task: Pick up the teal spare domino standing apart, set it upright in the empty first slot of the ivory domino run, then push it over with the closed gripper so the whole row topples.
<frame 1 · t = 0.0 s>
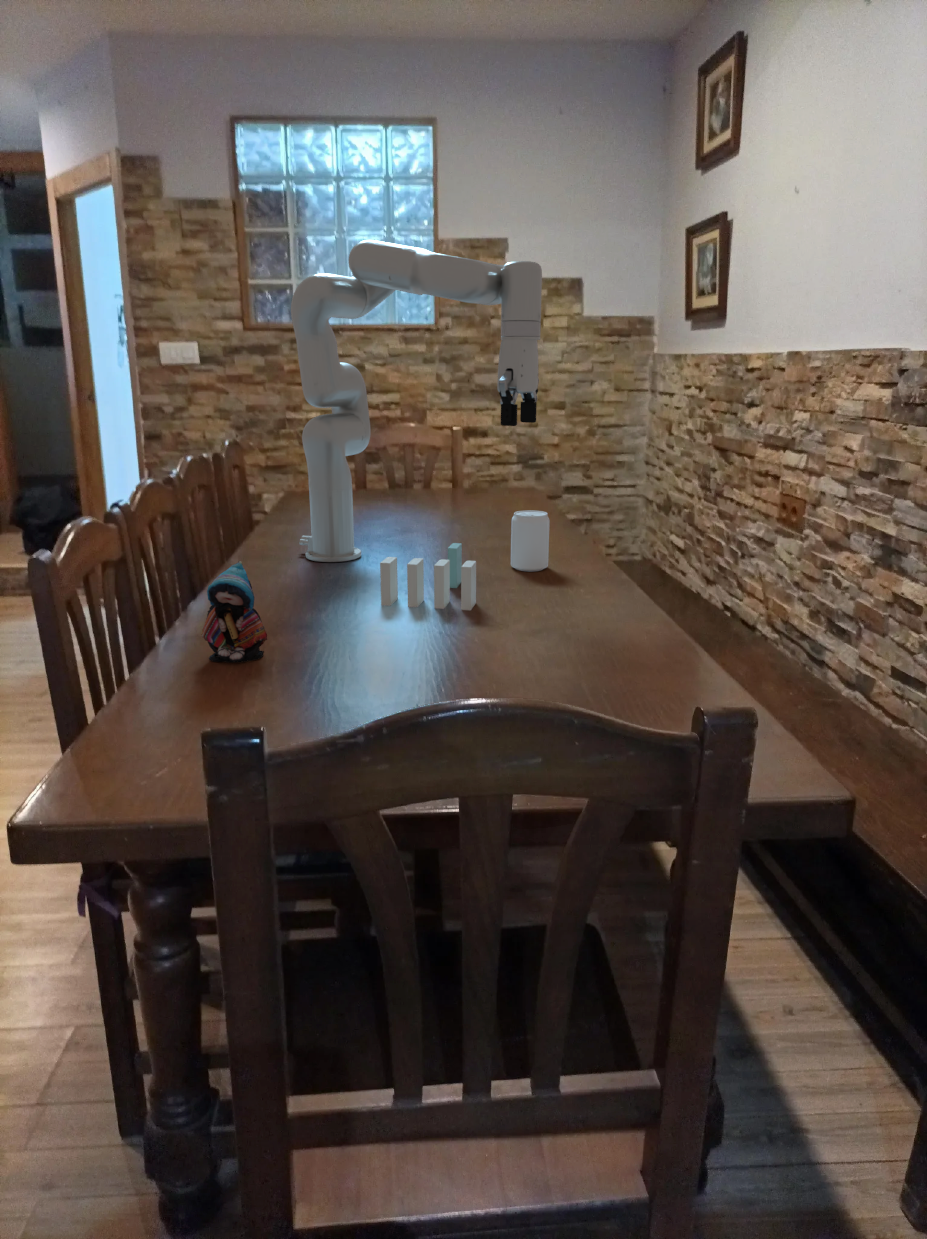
hand: (518, 423, 169), 31 cm above the table, fingers open, 9 cm apart
domino 5: (468, 606, 158), on the table
domino 4: (442, 604, 159), on the table
figurine: (236, 661, 130), on the table
beverage can: (529, 569, 187), on the table
domino 2: (389, 601, 161), on the table
spare domino: (454, 584, 173), on the table
domino 3: (415, 603, 160), on the table
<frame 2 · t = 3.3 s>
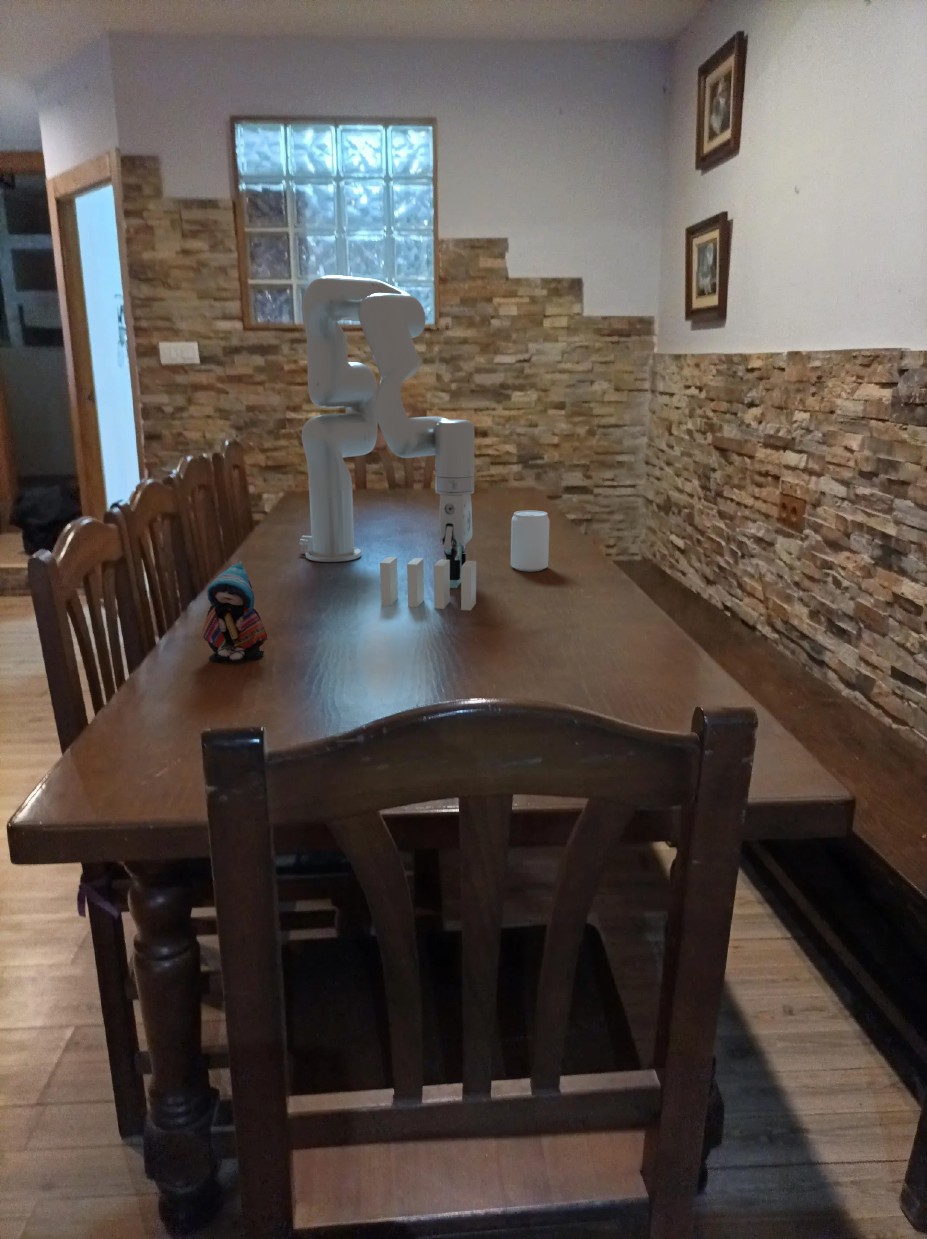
hand: (454, 575, 173), 2 cm above the table, fingers closed on spare domino, 4 cm apart
spare domino: (454, 584, 173), on the table, touching gripper
everything else where it was.
when the fingers open (3 cm above the table, at t = 8.4 s): spare domino stays where it is, on the table.
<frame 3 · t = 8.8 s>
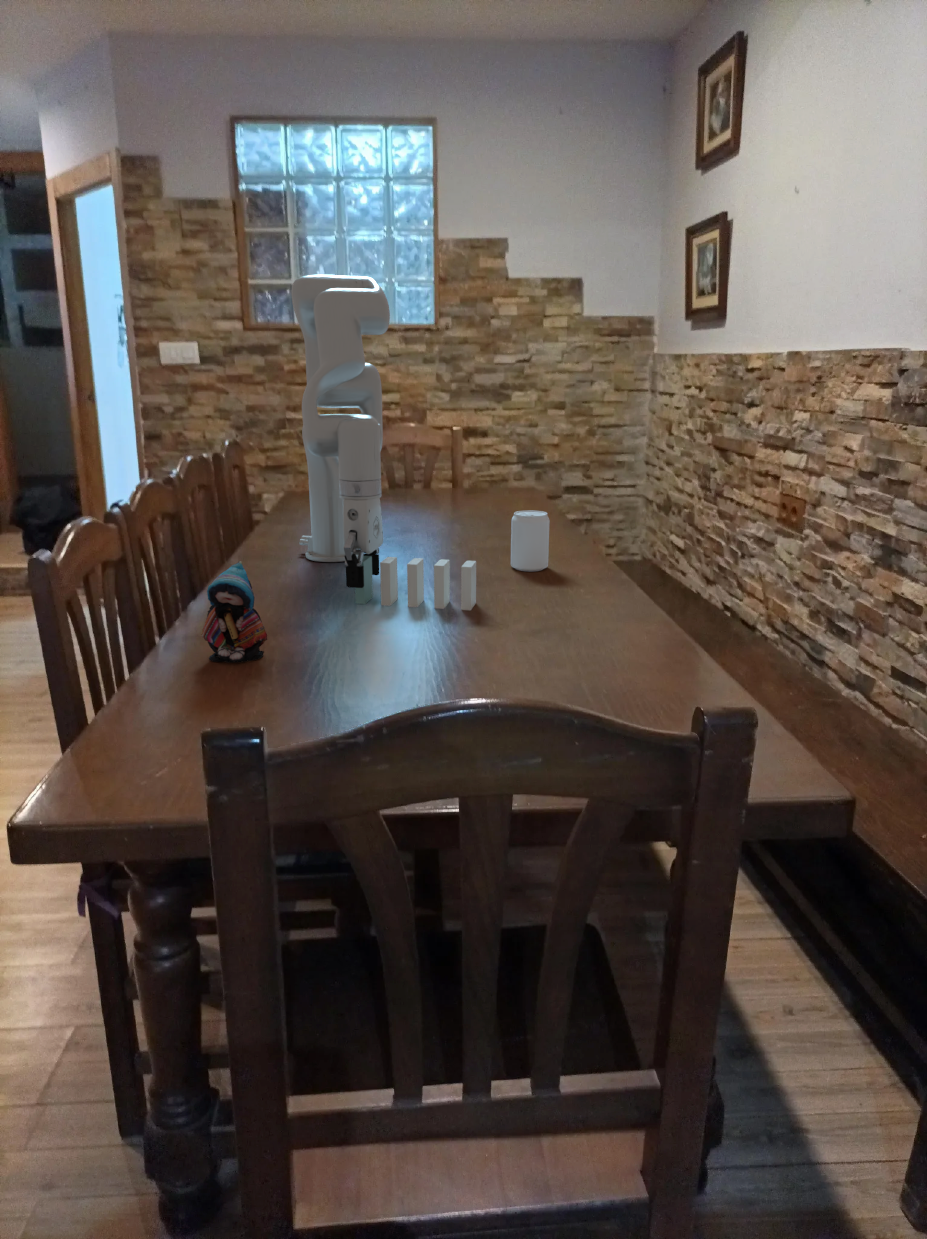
hand: (363, 580, 161), 4 cm above the table, fingers open, 9 cm apart
spare domino: (364, 600, 162), on the table
everything else where it was.
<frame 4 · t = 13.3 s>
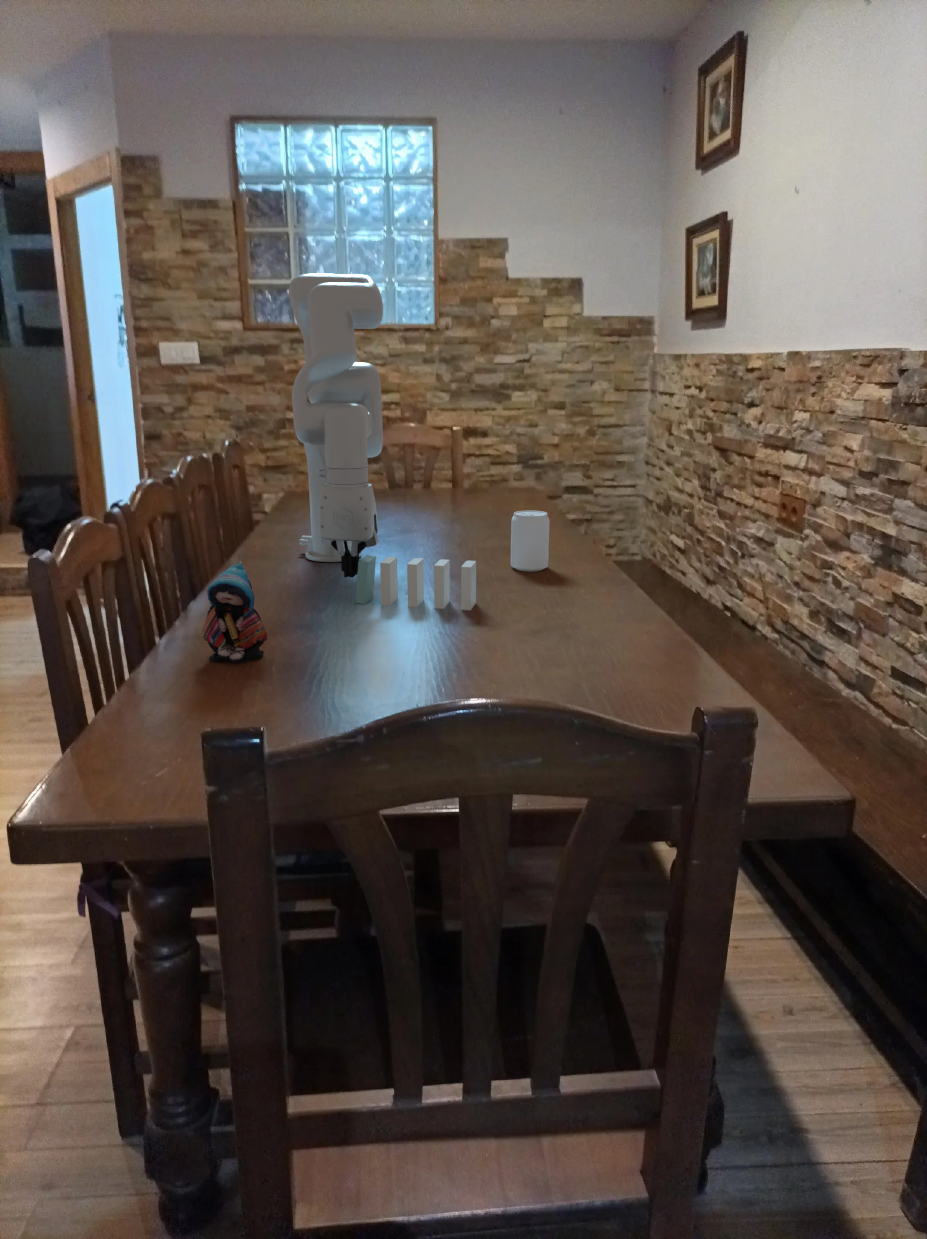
hand: (350, 575, 161), 5 cm above the table, fingers closed
spare domino: (364, 599, 162), on the table, tilted 6°
everything else where it was.
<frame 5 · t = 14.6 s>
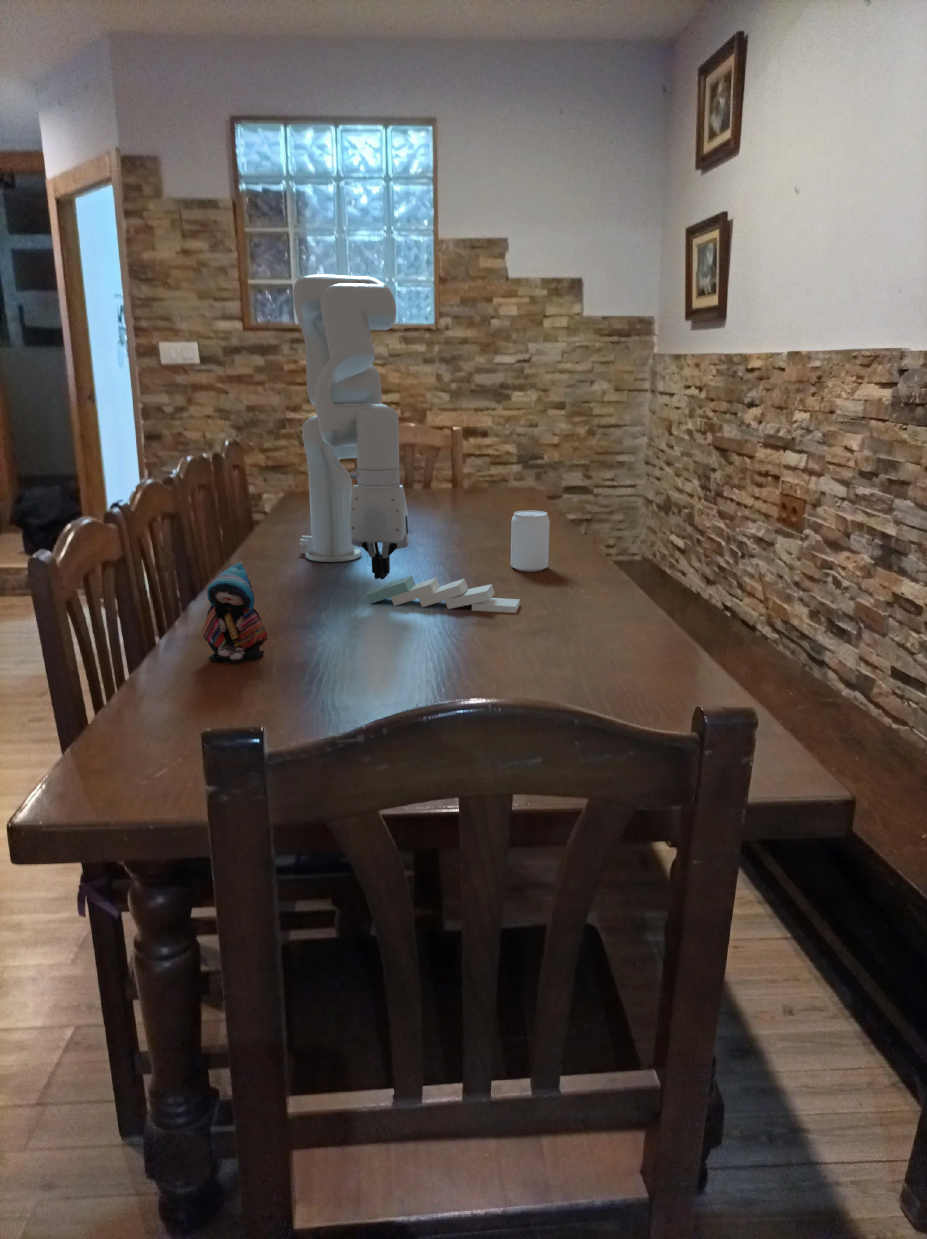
hand: (381, 577, 160), 5 cm above the table, fingers closed
domino 5: (474, 605, 158), on the table, tilted 90°
domino 4: (449, 600, 159), point 1 cm above the table, tilted 75°, touching domino 3
domino 2: (396, 597, 161), point 1 cm above the table, tilted 69°, touching domino 3, spare domino
spare domino: (371, 596, 162), point 1 cm above the table, tilted 69°, touching domino 2
domino 3: (423, 599, 160), point 1 cm above the table, tilted 68°, touching domino 2, domino 4
everything else where it was.
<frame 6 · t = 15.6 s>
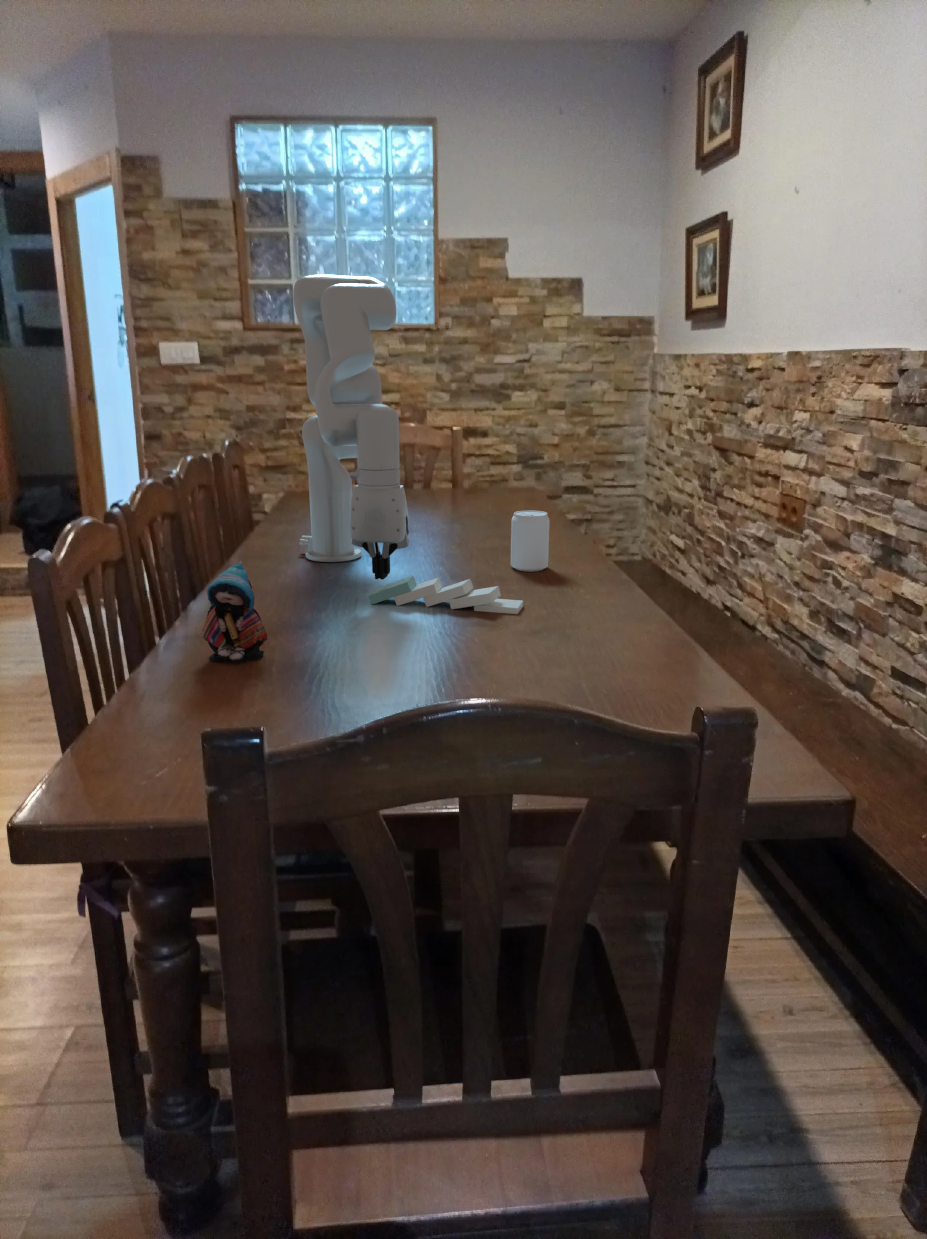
hand: (381, 577, 160), 5 cm above the table, fingers closed
domino 5: (477, 605, 158), on the table, tilted 90°, touching domino 4
domino 4: (455, 600, 158), point 1 cm above the table, tilted 75°, touching domino 3, domino 5
domino 3: (429, 599, 160), point 1 cm above the table, tilted 68°, touching domino 2, domino 4
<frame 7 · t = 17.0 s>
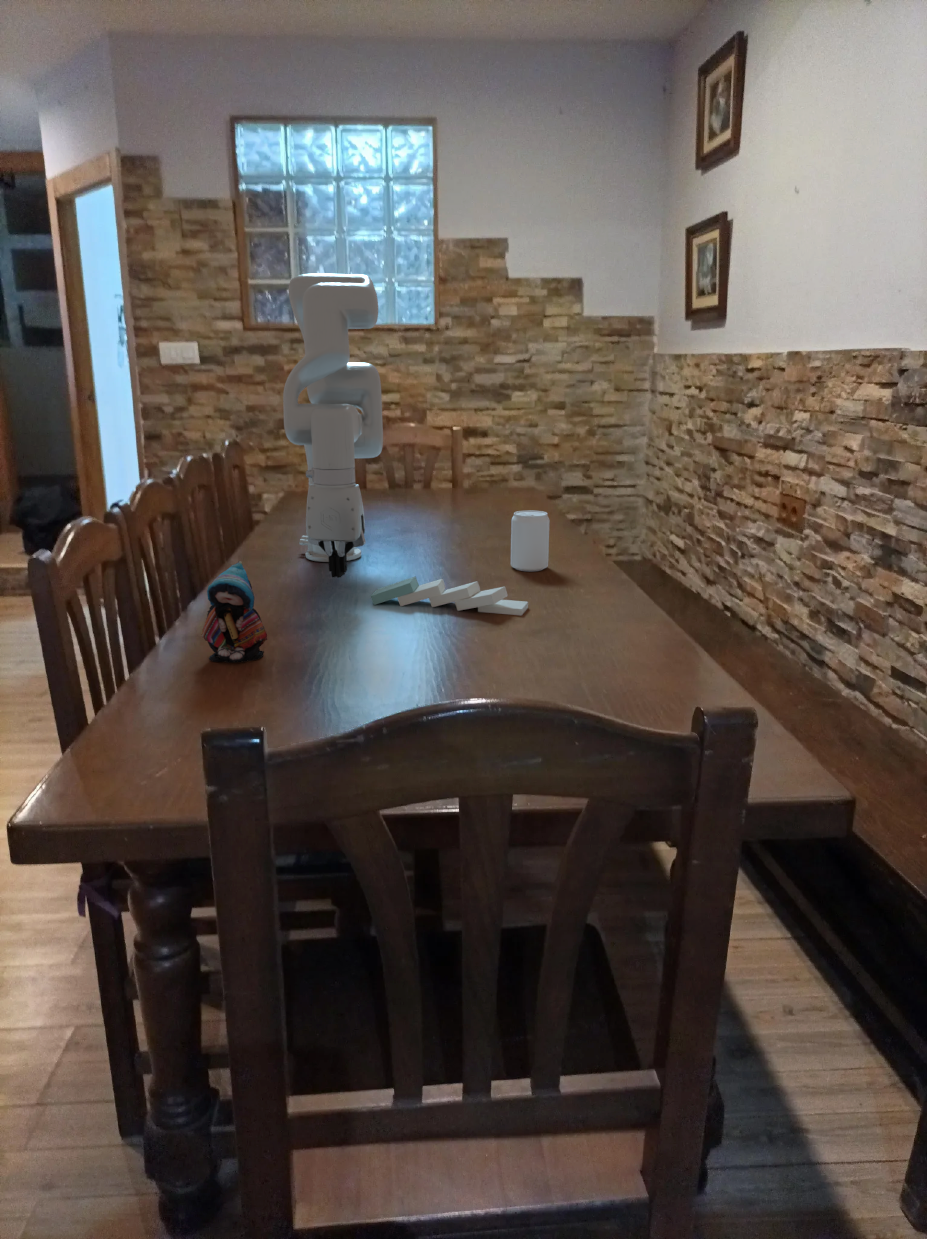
hand: (338, 575, 162), 5 cm above the table, fingers closed
domino 5: (481, 606, 157), on the table, tilted 90°, touching domino 4
domino 4: (463, 602, 157), point 1 cm above the table, tilted 72°, touching domino 3, domino 5
domino 2: (401, 598, 161), point 1 cm above the table, tilted 71°, touching domino 3
spare domino: (375, 597, 161), point 1 cm above the table, tilted 69°
domino 3: (436, 599, 160), point 1 cm above the table, tilted 70°, touching domino 2, domino 4
everything else where it was.
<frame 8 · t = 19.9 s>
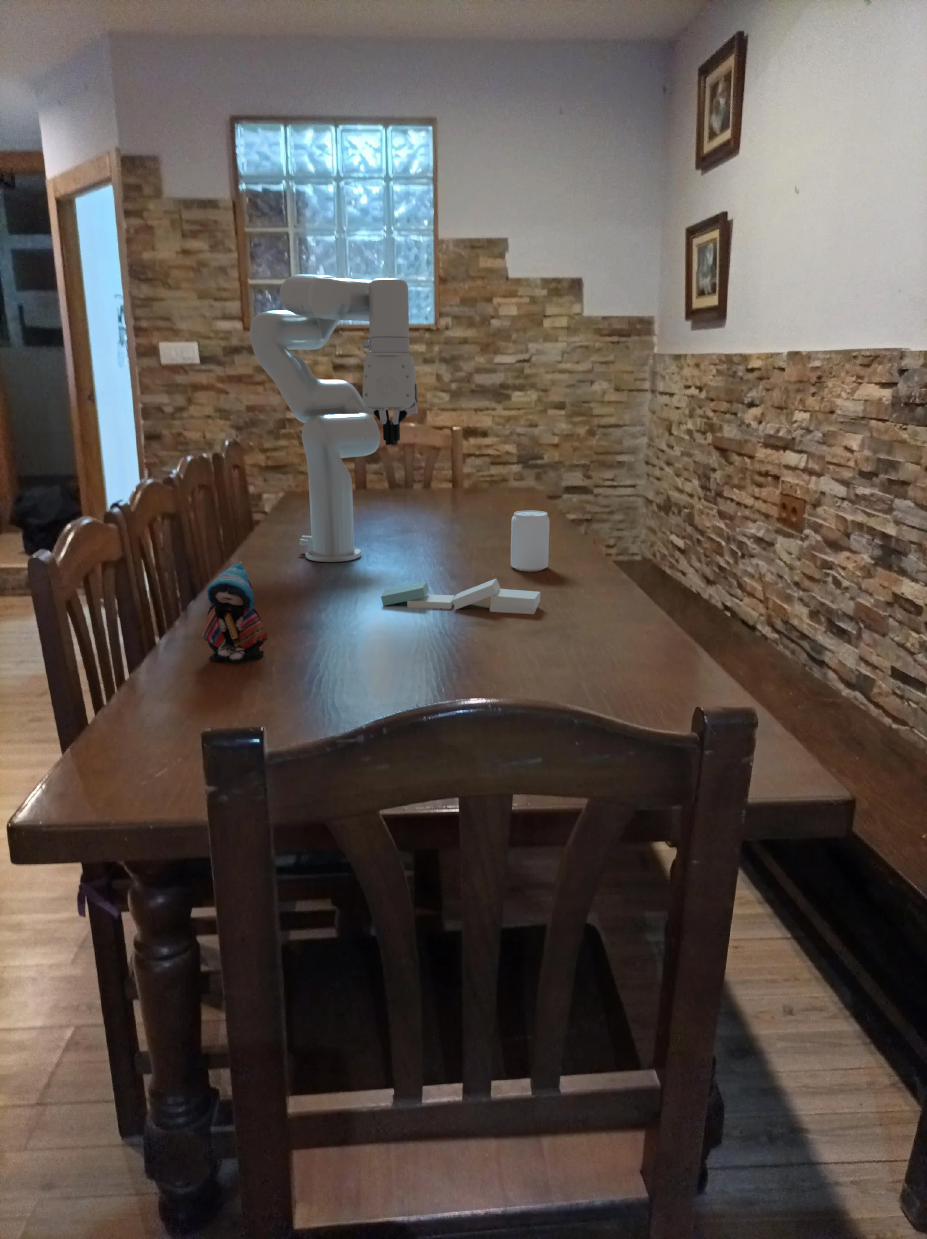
hand: (391, 444, 171), 27 cm above the table, fingers closed
domino 5: (492, 606, 158), on the table, tilted 90°
domino 4: (494, 596, 157), point 2 cm above the table, tilted 90°
domino 2: (410, 602, 160), on the table, tilted 90°, touching spare domino
spare domino: (384, 597, 160), point 1 cm above the table, tilted 76°, touching domino 2
domino 3: (456, 601, 158), point 1 cm above the table, tilted 66°
everything else where it was.
at the end: spare domino inside the target area (3.7 cm from its centre), point 0.9 cm above the table; spare domino tilted 76°; domino 5 tilted 90° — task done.
